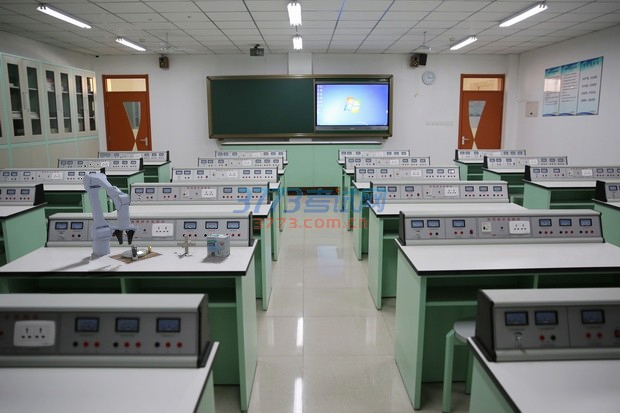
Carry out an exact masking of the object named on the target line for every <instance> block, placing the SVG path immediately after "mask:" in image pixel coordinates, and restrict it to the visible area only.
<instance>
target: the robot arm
mask: <svg viewBox="0 0 620 413" xmlns="http://www.w3.org/2000/svg"><path fill="white" fill-rule="evenodd" d="M82 183H83V187H84V191H85V192H86V193H87V196H88V201H89V205H90V209H91V213H92V219H93V223H92V224H91V225H90V227H89V234H90V238H91V239H92V240H93V241H92V242H91V246H92V248H91V249H92V253H93V254H95V255H96V256H107V255H110V254H111V242H110V239H111V238H112V236H113V234H114V236H115V237H116V239H117V241H118V244H119V246H120V245H121V246H122V245H123V244H124V241H123V240H124V238H123V237H124V236H123V233H124V231H125V234H126V237H127V245H128V246H132V244H133V238H134V236H135V233H136V232H138V231H140V226H139V225H138V226H136V225H135V226H134V225H131V219H130V205H131V202H132V198H131V195H130V194H128V193H125V192H123V191H122V190H121V189H119V188H118V187H117V185H116V186H115V185H113V186H112V184H111V182H109V181H108V180H107V175H106V174H104V172H101V173H99V172H98V173H90V174H89V173H88V174H87V173H86V174H84V176H83V178H82ZM102 189H103V190H105V191H106V194H107V196H108V197H110V199H111V200H113V204H114V208H115V210H116V219H117V225H112V226H111V224H110V222H108V221H107V220H106V219H105V216H104V211H103V208H102V207H103V206H102V203H101V198H100V193H99V191H100V190H102ZM93 254H90V255H91V256H92V255H93Z"/></svg>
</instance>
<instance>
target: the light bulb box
mask: <svg viewBox="0 0 620 413" xmlns="http://www.w3.org/2000/svg"><path fill="white" fill-rule="evenodd" d="M230 238H231V237H230V234H218V233H211V234H210V235H207V236H206V251H207V252H206V253H207V257H218V258H226V257H228V256H230V255H231V239H230Z"/></svg>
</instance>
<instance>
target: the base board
mask: <svg viewBox="0 0 620 413" xmlns="http://www.w3.org/2000/svg"><path fill="white" fill-rule="evenodd" d="M142 249H143V250H146V251H147V254H146V255H145V256H142V257H138V260H133V258H124V257H122V253H123V252H121V253H117V254H113V255H108V258H110V259H114V260H117V261H120V262H122V263H124V264H125V263H126V264H129V265H130V264H133V263H137V262H141V261H144V260H147V259H151V258H156V257H160V256H164V254H162V253H158V252H155V251H153V250H151V253H148V249H145V248H142Z"/></svg>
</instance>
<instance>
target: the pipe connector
mask: <svg viewBox="0 0 620 413" xmlns="http://www.w3.org/2000/svg"><path fill="white" fill-rule="evenodd" d="M183 238H184V241H183V242H182V241H181V242H179V241H178V242H176V245H177V246H179V247H181V248H182V249H184V253H185V254H189V252H190V251H189V247H196V245H197V243H196V242H192V240H189V239H188V238H189V236H188V234H184V237H183Z"/></svg>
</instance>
